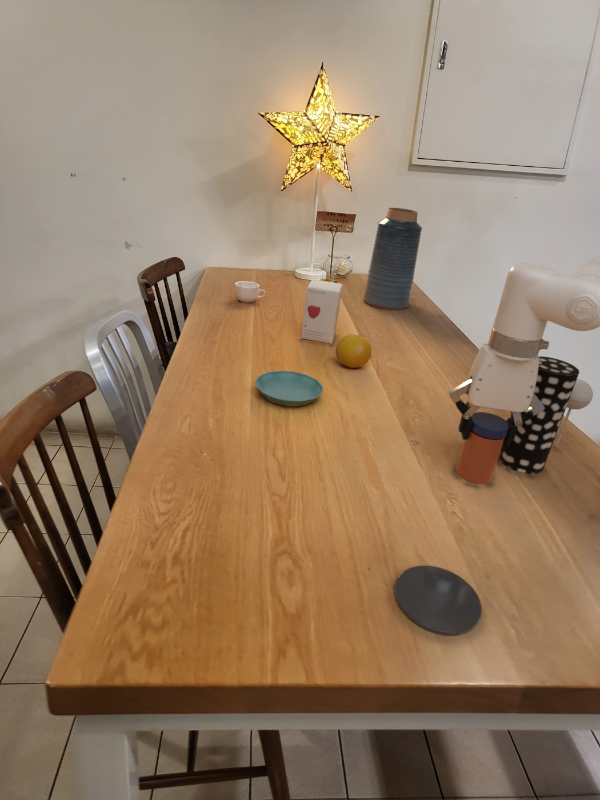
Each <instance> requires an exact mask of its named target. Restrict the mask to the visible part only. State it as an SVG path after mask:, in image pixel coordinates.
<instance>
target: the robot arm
mask: <svg viewBox="0 0 600 800" xmlns="http://www.w3.org/2000/svg"><path fill="white" fill-rule="evenodd" d="M548 322H551V323H553V324H555V325H558V326H560V327H562V328H565V329H569V330H572V331H576V332H588V331H593V330H596V329H598V328H599V327H600V253H599V254H597V255H596V256H594V257H592V258H591V259H590V260H588V261H587V262H585V263H583V264H582V265H580V266H579V267H578V268H576V269H575V270H573V271H572V272H570V273H569V274H568V275H567V276H561V275H560V273H559V272H558V271H557V270H556V269H554V268H552V267H549V266H545V265H541V264H537V263H536V264H535V263H529V262H528V263H527V262H523V263H516V264H514V265H512V266H511V267H510V268H509V270H508V272H507V276H506V279H505V282H504V286H503V290H502V293H501V296H500V300H499V304H498V307H497V311H496V314H495V318H494V322H493V325H492V328H491V332H490V336H489V339H488V342H487V343H483V344H482V345H481V347H480V348H479V350H478V352H477V354H476V356H475V359H474V362H473V363H472V367H471V368H470V372H469V373H468V377H467V380H466V381H464V382H462V383H460V384H459V385H457V386H455V387H453V388H452V389H449V391H448V395H449V398H450V399H451V401H452V402H453V404H454V405H455V406H456V408H457V410H458V411H459V412H460V414H461V417H460V421H459V424H458V433H460V435H461V438H462V440H463V441H464V440H466V439H468V436H469V433H470V429H471V426H472V422H473V420H472V415H473V414H474V413H476V412H478V410H479V409H480V408H484V409H490V410H497V411H504V412H510V417H508V418H507V419H506V421H507V422H508V424H509V430H508V434H507V436H506V438H505V441H504V445H506V446H510V443H511V440H514V438H515V435H516V432H517V429H518V427H520V426H522V423H524V422H526V421H528V420H529V419H531V418H532V417H533V416H534V415H537V414H538V413H540V412H542V411H543V410H544V409H545V407H544V406H543V404H542V403H541V401H540V400H539V399H538V397H537V396H536V395H535V393H534V389H535V385H536V380H537V374H538V368H539V356H540V355H539V353H540V351H542V350H548V349H549V346H550V341H549V340H545V339H544V338H543V336H544V334H545V330H546V327H547V325H548ZM464 394H466V395H467V396H468V399H467V401H466V402H464V400H463V399H462V398H461V396H462V395H464ZM530 403H532V406H531V407H530V408H529V406H530Z"/></svg>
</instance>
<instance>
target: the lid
mask: <svg viewBox="0 0 600 800" xmlns="http://www.w3.org/2000/svg"><path fill="white" fill-rule="evenodd" d="M472 420H473V422H472V426H471V430H472V431H473V432H475V433H476V434H478V435H480V436H483V437H486V438H491V439H501V438H504V437H506V436H507V434H508V430H509V424H508V422H507V419H504V417H501V416H500V415H497V414H494V413H490V412H485V411H476V412H475V413H474V414H473V415H472Z"/></svg>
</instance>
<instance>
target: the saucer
mask: <svg viewBox="0 0 600 800" xmlns="http://www.w3.org/2000/svg"><path fill="white" fill-rule="evenodd" d="M254 384H255V387H256V388H257V390H258V391H259V393H260V394H261V395H262V396H263V397H264V399H266V400H267V401H270V402H271V403H273V404H277V405H279V406H283V407H284V406H285V407H292V408H293V407H302V406H307V405H308V404H311V403H312V402H314V401H315V400H317V399H318V398H319V397H320V396H322V394H323V392H324V387H323V385H322V383H321V382H320V381H319V380H318V379H316V378H314V377H313V376H311V375H308V374H305V373H302V372H297V371H291V370H274V371H267V372H264V373H262V374H261V375H259V376H257V377H256V379H255V382H254Z"/></svg>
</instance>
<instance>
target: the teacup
mask: <svg viewBox="0 0 600 800" xmlns="http://www.w3.org/2000/svg"><path fill="white" fill-rule="evenodd" d="M260 292H263V295H260ZM234 294H235V297H236V298H237V300H238V301H240V302H242V303H245V304H246V303H247V304H248V303H249V304H250V303H253V302H255V301H256V300H257V299H262V298H264V297H265V296H266V291H265V290H264V289H263V288H260V284H259V283H257V282H254V281H249V280H248V281H247V280H241V281H236V282H235V283H234Z"/></svg>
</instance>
